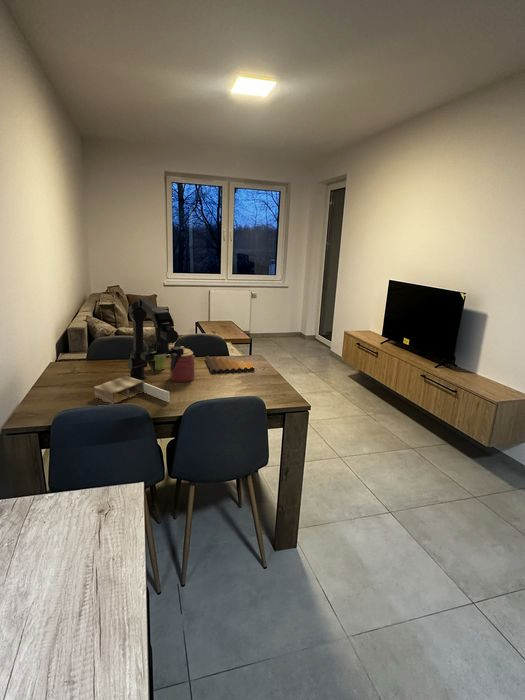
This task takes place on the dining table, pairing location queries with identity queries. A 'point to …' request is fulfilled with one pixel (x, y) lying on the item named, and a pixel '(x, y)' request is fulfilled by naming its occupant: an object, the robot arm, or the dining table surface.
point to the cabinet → (118, 388)
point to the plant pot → (159, 362)
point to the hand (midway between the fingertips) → (163, 371)
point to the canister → (183, 367)
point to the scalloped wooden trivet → (227, 365)
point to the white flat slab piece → (156, 392)
